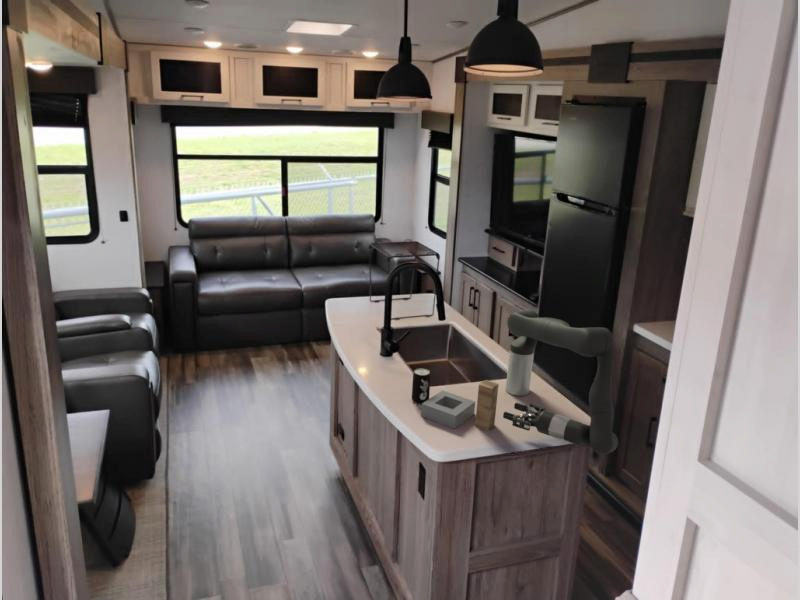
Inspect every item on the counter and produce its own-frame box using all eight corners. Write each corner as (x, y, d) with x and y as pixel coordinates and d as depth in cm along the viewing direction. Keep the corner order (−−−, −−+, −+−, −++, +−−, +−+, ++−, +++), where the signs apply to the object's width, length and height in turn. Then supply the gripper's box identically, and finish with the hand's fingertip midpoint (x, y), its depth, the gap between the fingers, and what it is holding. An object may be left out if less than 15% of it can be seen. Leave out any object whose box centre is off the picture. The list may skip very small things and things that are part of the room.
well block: (441, 402, 236) (442, 390, 234) (474, 413, 228) (475, 401, 226) (421, 416, 225) (421, 403, 223) (454, 428, 217) (455, 415, 215)
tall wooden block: (481, 420, 224) (485, 379, 219) (494, 424, 221) (498, 383, 216) (475, 425, 220) (478, 384, 215) (487, 430, 217) (491, 388, 212)
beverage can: (414, 405, 232) (416, 375, 229) (409, 397, 238) (411, 368, 235) (431, 403, 234) (433, 374, 230) (425, 396, 240) (427, 367, 236)
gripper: (563, 407, 209) (519, 392, 217) (547, 423, 198) (500, 407, 206) (561, 426, 211) (517, 412, 220) (544, 444, 200) (498, 427, 209)
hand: (509, 409), depth 213 cm, fingers open, 8 cm apart
